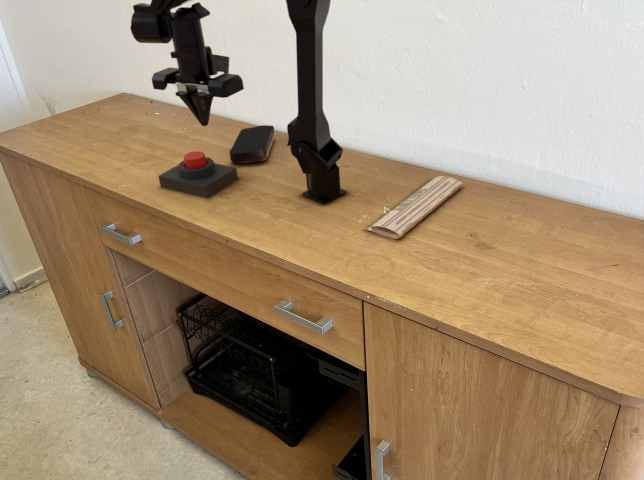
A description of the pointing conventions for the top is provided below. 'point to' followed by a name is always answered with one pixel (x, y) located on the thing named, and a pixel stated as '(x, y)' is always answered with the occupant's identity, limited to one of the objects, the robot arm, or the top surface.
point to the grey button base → (199, 178)
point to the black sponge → (252, 144)
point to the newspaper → (416, 207)
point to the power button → (194, 160)
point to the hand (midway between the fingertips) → (205, 125)
